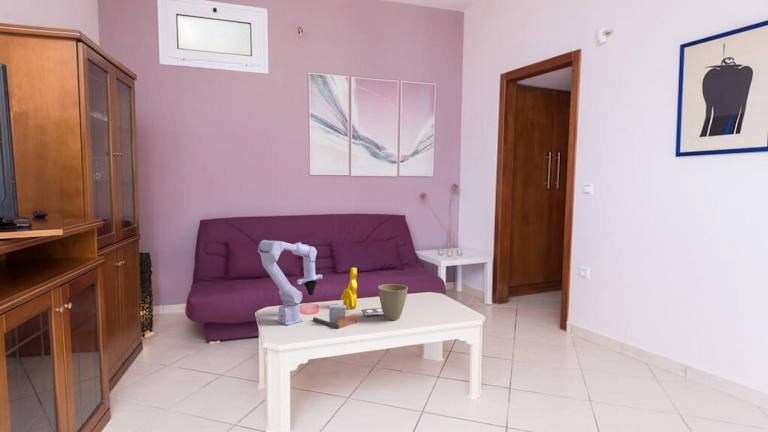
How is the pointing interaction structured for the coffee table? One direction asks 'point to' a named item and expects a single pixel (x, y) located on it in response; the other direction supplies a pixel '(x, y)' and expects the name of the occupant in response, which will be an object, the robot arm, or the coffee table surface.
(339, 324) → the grey and brown pieces
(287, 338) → the coffee table surface
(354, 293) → the figure statuette
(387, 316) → the plant pot
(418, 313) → the coffee table surface
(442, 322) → the coffee table surface
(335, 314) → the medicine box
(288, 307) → the robot arm
